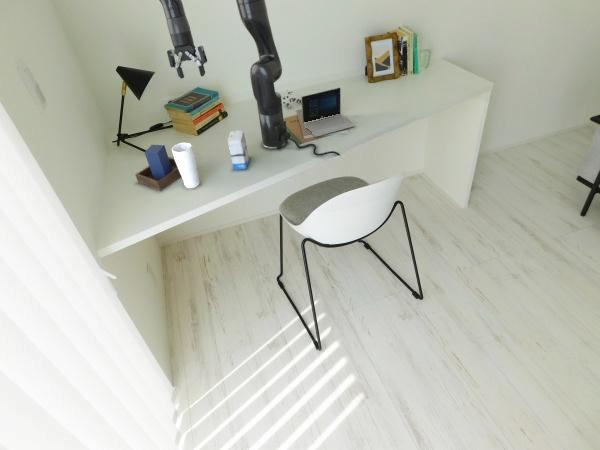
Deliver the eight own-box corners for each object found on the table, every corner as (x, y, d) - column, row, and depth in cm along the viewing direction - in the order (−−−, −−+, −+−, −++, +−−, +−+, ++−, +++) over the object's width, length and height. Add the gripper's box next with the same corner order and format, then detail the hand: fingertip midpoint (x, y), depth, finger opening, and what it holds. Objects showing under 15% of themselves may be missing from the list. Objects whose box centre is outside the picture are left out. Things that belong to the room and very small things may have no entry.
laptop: (315, 138, 161) (314, 107, 153) (303, 126, 170) (301, 96, 162) (354, 127, 166) (355, 97, 158) (340, 116, 175) (340, 87, 167)
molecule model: (306, 108, 188) (306, 90, 187) (287, 107, 181) (287, 88, 179) (298, 109, 193) (298, 92, 191) (278, 108, 186) (278, 90, 184)
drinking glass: (184, 180, 144) (173, 143, 134) (203, 178, 144) (193, 141, 134) (181, 191, 138) (169, 153, 129) (201, 189, 139) (190, 151, 129)
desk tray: (189, 170, 149) (187, 162, 146) (160, 190, 139) (157, 182, 137) (167, 163, 154) (164, 155, 151) (138, 182, 144) (135, 174, 142)
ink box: (246, 169, 146) (241, 141, 139) (232, 170, 147) (227, 141, 139) (249, 157, 153) (244, 129, 145) (236, 158, 153) (231, 130, 146)
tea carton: (173, 171, 148) (164, 145, 141) (166, 179, 144) (157, 152, 137) (160, 170, 149) (151, 144, 142) (153, 178, 145) (144, 152, 138)
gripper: (157, 35, 142) (171, 81, 151) (193, 30, 139) (206, 77, 148) (166, 31, 148) (179, 76, 157) (201, 26, 145) (213, 72, 154)
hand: (192, 76), depth 152 cm, fingers open, 8 cm apart
